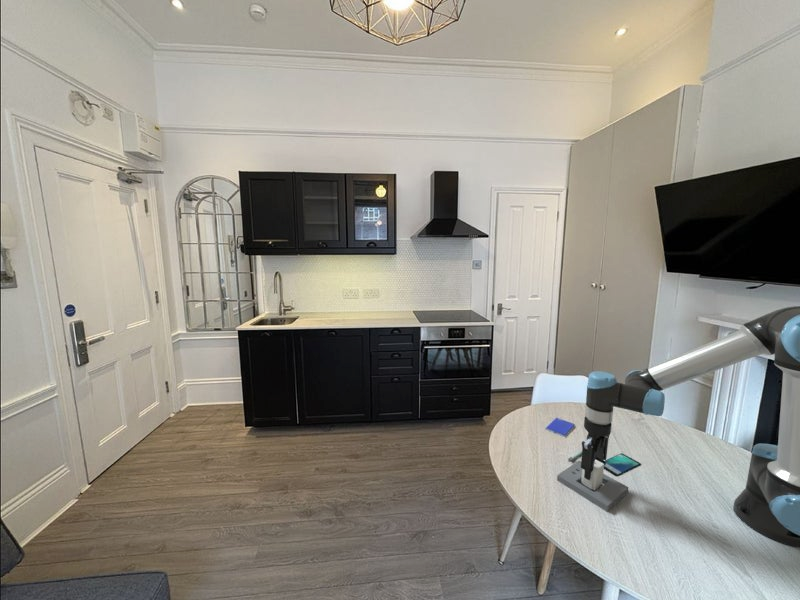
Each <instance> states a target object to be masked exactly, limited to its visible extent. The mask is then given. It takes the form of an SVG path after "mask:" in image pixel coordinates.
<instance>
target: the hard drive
mask: <svg viewBox="0 0 800 600" xmlns="http://www.w3.org/2000/svg"><path fill="white" fill-rule="evenodd" d="M574 427H576V425H575V423H574V422H573V423H572V422H570V421H567V420H564V419H561V418H559V417H555V418H554V419H553V420H552V421H551V422H550V423H549V424H548V425H547V426H546V427H545V428H544V430H545V431H547V430H548V432H550V433H552V432H553V434H556V435H558V436H560V437H562V438H566V436H568V434H569V433H570V432H571V431H572V430H573V429H574Z"/></svg>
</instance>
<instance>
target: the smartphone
mask: <svg viewBox="0 0 800 600" xmlns="http://www.w3.org/2000/svg"><path fill="white" fill-rule="evenodd" d="M604 462H606V464H605V465H604V470H605V471H606V472H607V473H610V474H612V475H613V476H615V477H620V476H621V475H623V474H625V473H628V472H629V471H631V470H634V469H636V468H637V467H641V462H639V461H637V460H636V459H634V458H632V457H630V456H628V455H626V454H624V453H622V452H621V453H619V454H616V455H614V456H612V457H609V458H608V459H607V458H606V460H604Z"/></svg>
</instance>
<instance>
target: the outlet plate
mask: <svg viewBox="0 0 800 600" xmlns="http://www.w3.org/2000/svg"><path fill="white" fill-rule="evenodd" d="M556 477H557V478H556V481H558V482H559V483H561V484H562V485H564V486H566V487H567V488H569V489H570V490H572V491H573V492H575V493H576V494H578V495H580V496H581V497H583V498H584V499H586V500H588V501H589V502H591V503H592V504H594V505H596V506H597V507H598V508H601V509H602V510H603V511H605V512H609V511H610V510H611V509H612V508H613V507H614V506H615V505H616V504H618V503H619V502H620V500H621V499H623V498H624V497H625V496H626V495H627V494H629V486H627V485H626V484H623V483H622V482H619V481H618V480H616V479H614V478H612V477H610V476H608V475H607V474H604V473H603V479H602V486H600V487H599V488H598V489H597V490H595V491H594V490H593V489H590V488H588V487H587V486H585V485H583V483H581V478H582V468H581V460H577V461H576V462H574V463H573V464H571V465H570V466H569V467H567V468H566V469H564V470H562V471H561V472H559V473H558V474H557V476H556Z"/></svg>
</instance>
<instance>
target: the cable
mask: <svg viewBox="0 0 800 600" xmlns="http://www.w3.org/2000/svg"><path fill="white" fill-rule="evenodd" d="M581 456H582V450H581V451H580V452H578V453H576V454H575V455H574V456H570V457H568V459H567V461H568V462H570V463H573V462H574V461H575V460H576V459H577V458H579V457H581Z"/></svg>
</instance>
